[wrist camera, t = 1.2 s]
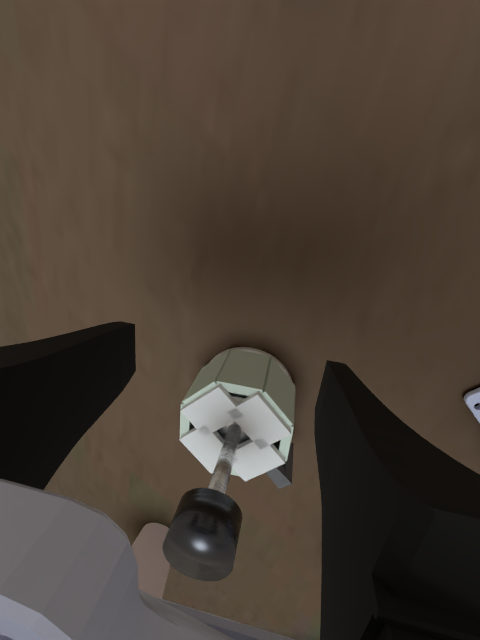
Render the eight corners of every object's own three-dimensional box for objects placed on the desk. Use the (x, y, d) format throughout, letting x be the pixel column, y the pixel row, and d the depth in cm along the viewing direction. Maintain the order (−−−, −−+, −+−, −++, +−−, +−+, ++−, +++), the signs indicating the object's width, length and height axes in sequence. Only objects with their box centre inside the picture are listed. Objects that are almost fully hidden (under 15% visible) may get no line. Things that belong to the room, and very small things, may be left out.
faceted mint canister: (326, 418, 24) (332, 476, 19) (254, 453, 26) (243, 512, 22) (254, 329, 22) (240, 367, 17) (185, 375, 25) (156, 420, 20)
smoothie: (155, 561, 35) (67, 777, 22) (118, 521, 33) (1, 727, 20) (201, 549, 32) (133, 782, 20) (163, 506, 31) (63, 725, 18)
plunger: (291, 440, 20) (283, 580, 12) (230, 469, 21) (193, 606, 14) (240, 380, 19) (201, 495, 12) (181, 416, 21) (116, 534, 13)
